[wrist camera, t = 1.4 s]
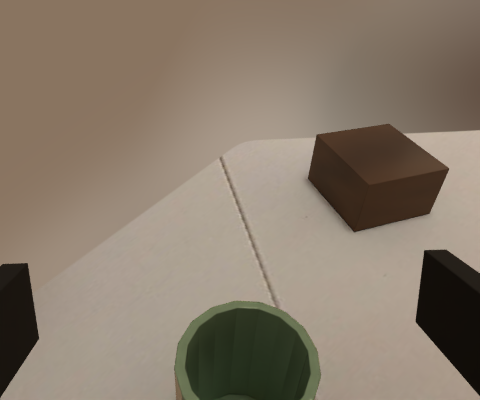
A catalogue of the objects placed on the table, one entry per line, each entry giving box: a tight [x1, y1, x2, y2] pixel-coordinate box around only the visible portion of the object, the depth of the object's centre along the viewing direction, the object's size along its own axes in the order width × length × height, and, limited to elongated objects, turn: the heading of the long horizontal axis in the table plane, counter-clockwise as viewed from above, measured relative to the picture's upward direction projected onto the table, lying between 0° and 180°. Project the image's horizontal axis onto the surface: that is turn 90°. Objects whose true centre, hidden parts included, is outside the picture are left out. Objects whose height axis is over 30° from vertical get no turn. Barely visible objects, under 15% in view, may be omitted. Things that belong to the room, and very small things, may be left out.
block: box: [308, 124, 449, 231], centre depth 47 cm, size 10×10×6 cm
